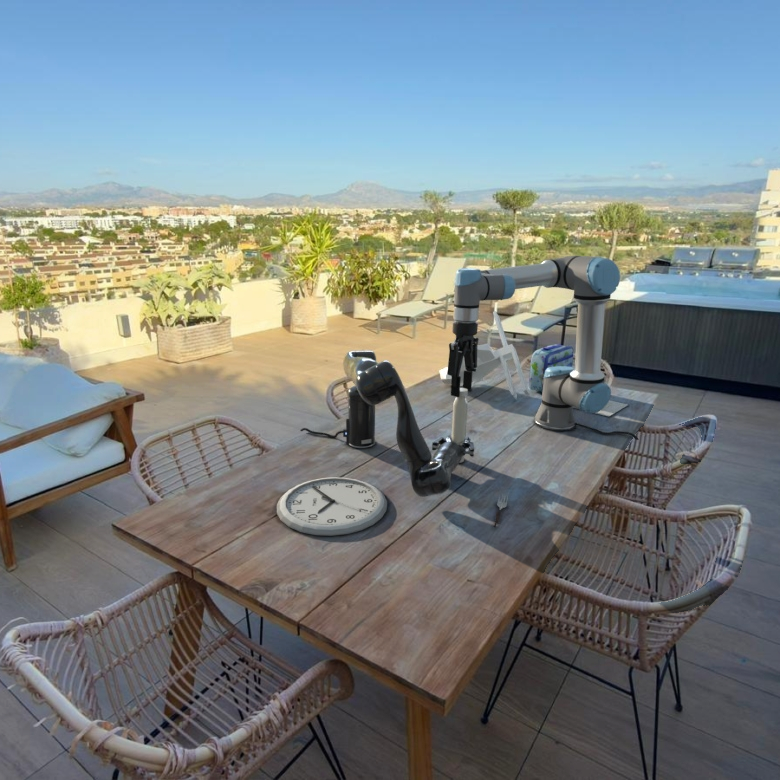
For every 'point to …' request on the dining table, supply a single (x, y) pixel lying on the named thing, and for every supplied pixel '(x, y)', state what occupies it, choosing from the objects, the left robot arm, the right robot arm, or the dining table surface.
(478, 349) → the white plastic object
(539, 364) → the lunch box
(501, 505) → the fork
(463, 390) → the cap
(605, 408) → the invitation card
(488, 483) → the dining table surface
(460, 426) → the bottle
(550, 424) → the right robot arm
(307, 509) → the wall clock
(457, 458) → the left robot arm
